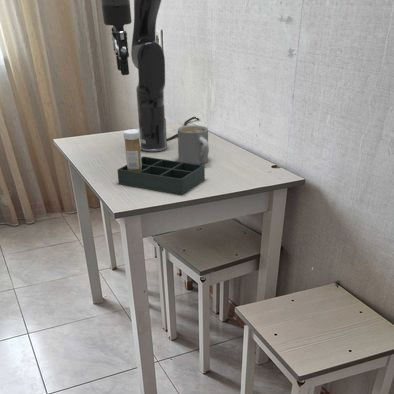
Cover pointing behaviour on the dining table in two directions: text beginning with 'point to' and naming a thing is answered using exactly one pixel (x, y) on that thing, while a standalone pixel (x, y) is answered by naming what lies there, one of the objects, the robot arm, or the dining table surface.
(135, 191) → the dining table surface
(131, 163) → the sprinkles bottle
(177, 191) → the rack
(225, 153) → the dining table surface
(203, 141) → the coffee mug
